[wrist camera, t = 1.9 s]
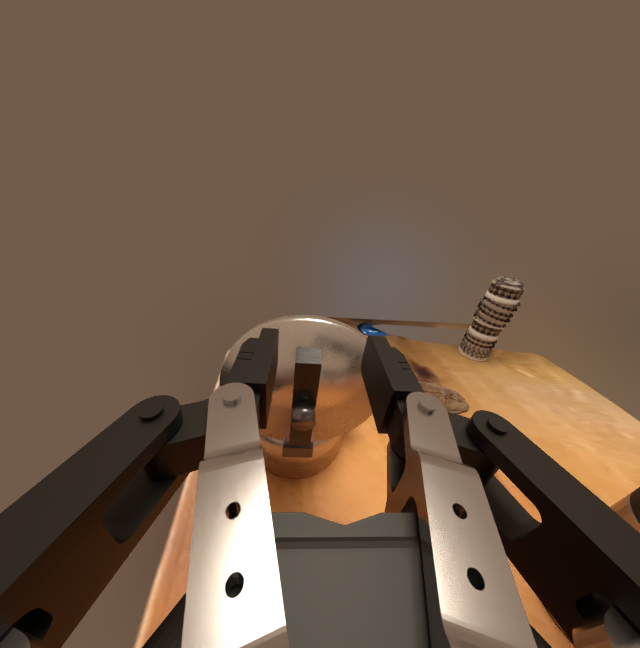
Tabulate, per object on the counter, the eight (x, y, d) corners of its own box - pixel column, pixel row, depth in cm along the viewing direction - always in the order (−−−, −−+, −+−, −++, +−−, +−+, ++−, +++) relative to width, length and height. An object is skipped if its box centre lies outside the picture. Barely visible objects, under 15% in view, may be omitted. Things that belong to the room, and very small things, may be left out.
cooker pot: (365, 422, 49) (378, 379, 43) (323, 521, 33) (335, 474, 28) (277, 380, 57) (279, 338, 51) (211, 444, 41) (202, 395, 35)
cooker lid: (364, 435, 32) (373, 476, 28) (229, 431, 31) (216, 473, 26) (401, 321, 24) (423, 353, 19) (214, 307, 22) (190, 338, 17)
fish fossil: (360, 402, 54) (361, 398, 54) (357, 374, 63) (358, 371, 63) (474, 416, 53) (476, 412, 53) (454, 386, 63) (455, 383, 62)
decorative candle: (490, 366, 72) (536, 288, 59) (457, 355, 75) (494, 279, 62) (486, 351, 79) (527, 279, 67) (456, 342, 82) (489, 271, 70)
